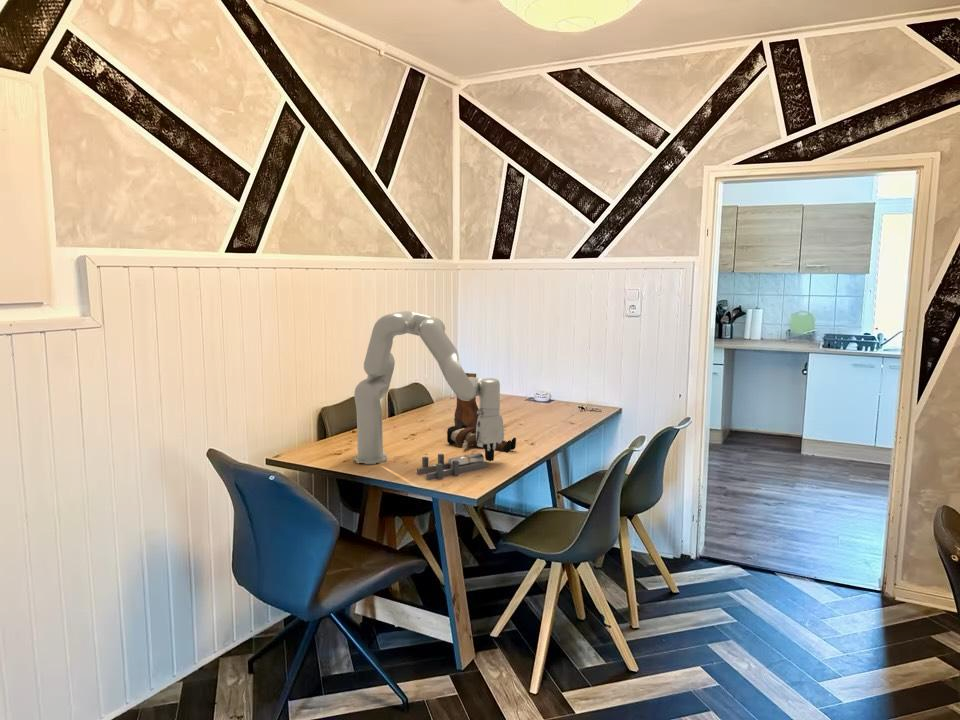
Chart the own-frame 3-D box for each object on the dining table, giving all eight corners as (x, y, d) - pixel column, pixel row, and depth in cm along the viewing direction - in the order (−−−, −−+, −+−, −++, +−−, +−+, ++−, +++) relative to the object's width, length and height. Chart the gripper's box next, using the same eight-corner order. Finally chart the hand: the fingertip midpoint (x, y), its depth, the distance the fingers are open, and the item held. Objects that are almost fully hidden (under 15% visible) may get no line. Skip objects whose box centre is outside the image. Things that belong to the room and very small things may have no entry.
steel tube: (454, 470, 225) (453, 458, 226) (448, 470, 229) (446, 458, 229) (484, 464, 233) (483, 452, 233) (478, 464, 236) (476, 452, 237)
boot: (503, 434, 284) (503, 375, 280) (488, 437, 277) (488, 377, 274) (465, 424, 302) (465, 368, 298) (450, 427, 296) (450, 370, 292)
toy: (499, 447, 242) (434, 428, 257) (496, 470, 244) (432, 450, 259) (526, 432, 263) (465, 415, 277) (524, 454, 265) (463, 436, 279)
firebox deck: (414, 475, 226) (414, 458, 225) (472, 463, 240) (472, 447, 239) (431, 484, 216) (430, 466, 215) (490, 471, 230) (490, 455, 229)
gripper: (478, 416, 227) (478, 466, 229) (511, 411, 235) (511, 459, 238) (467, 412, 233) (467, 461, 235) (499, 407, 241) (499, 454, 244)
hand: (489, 460), depth 236 cm, fingers closed
